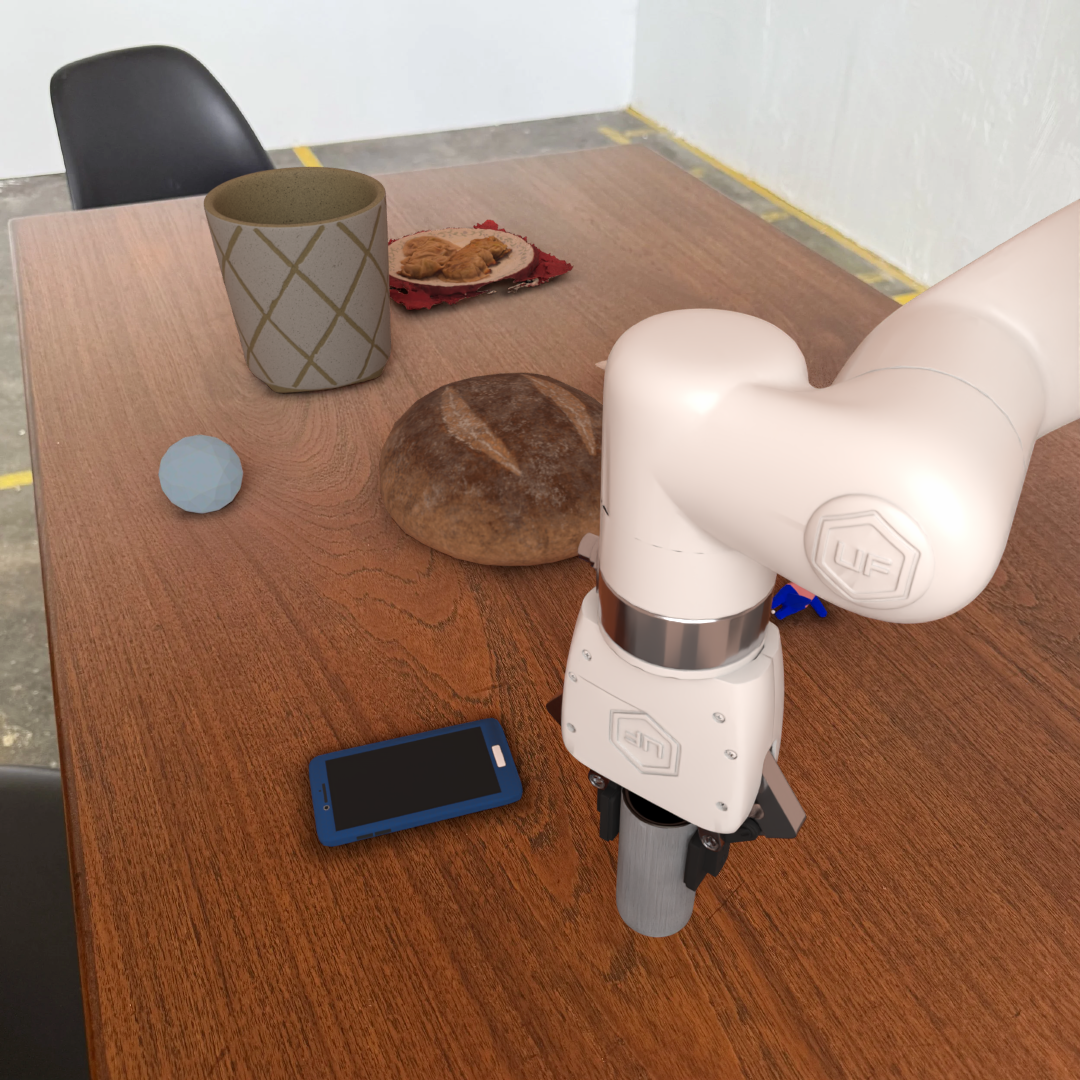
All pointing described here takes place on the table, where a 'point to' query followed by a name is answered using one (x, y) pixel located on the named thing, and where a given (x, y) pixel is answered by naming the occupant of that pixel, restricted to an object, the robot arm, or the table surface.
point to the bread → (497, 469)
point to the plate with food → (464, 264)
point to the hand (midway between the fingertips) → (660, 843)
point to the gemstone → (200, 473)
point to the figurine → (795, 601)
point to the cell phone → (412, 781)
